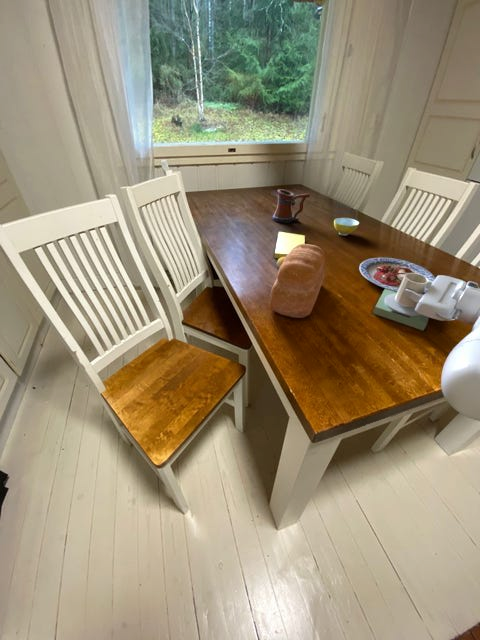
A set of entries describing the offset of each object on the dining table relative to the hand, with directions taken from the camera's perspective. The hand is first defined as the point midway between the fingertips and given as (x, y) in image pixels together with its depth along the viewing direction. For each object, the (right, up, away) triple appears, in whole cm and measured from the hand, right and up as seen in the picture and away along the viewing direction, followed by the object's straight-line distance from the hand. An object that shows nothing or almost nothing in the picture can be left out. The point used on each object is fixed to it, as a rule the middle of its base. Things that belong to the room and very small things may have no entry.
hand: (409, 285), depth 80 cm
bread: (-30, -2, +12) cm, 33 cm away
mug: (-23, +45, +70) cm, 86 cm away
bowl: (+1, +32, +55) cm, 64 cm away
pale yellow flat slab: (-27, +22, +42) cm, 55 cm away
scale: (+1, -7, +5) cm, 9 cm away
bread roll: (-31, +11, +27) cm, 42 cm away
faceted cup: (+1, -4, +3) cm, 5 cm away
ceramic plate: (+8, +5, +21) cm, 23 cm away
